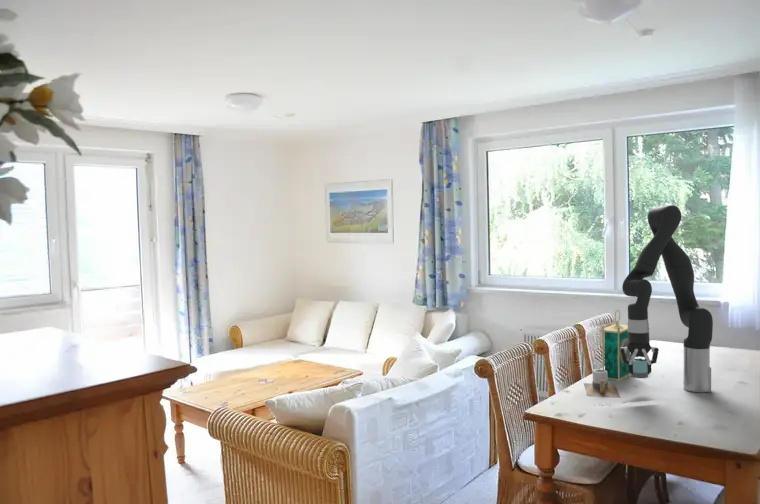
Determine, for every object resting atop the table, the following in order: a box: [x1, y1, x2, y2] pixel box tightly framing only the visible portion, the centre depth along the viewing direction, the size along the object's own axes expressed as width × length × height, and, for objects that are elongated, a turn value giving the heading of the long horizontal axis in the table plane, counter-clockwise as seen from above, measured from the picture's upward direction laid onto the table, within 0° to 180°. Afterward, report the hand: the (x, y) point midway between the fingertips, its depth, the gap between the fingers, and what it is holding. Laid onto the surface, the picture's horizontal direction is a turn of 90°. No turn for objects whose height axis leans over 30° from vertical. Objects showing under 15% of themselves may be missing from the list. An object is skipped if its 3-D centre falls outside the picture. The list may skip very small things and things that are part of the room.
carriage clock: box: [599, 309, 634, 382], centre depth 256 cm, size 17×9×30 cm, turn 137°
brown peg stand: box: [583, 380, 621, 399], centre depth 235 cm, size 12×18×6 cm, turn 165°
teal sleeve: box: [632, 357, 649, 379], centre depth 229 cm, size 5×5×6 cm
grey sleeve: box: [592, 368, 609, 389], centre depth 240 cm, size 5×5×6 cm
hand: (639, 373), depth 229 cm, fingers closed on teal sleeve, 5 cm apart
